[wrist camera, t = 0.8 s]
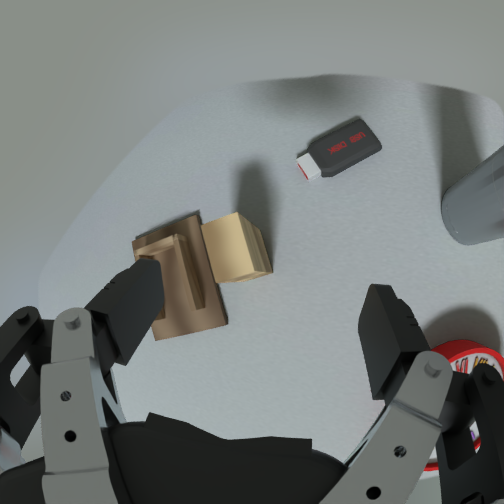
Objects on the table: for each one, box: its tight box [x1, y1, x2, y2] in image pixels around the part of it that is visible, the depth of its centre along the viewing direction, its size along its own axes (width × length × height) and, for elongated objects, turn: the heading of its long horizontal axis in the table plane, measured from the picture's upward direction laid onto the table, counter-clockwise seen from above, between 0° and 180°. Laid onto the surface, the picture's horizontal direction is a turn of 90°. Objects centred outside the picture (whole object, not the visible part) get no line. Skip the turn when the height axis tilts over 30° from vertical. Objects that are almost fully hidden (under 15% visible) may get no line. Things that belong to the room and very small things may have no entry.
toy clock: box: [424, 340, 504, 471], centre depth 26 cm, size 20×6×20 cm
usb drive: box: [296, 119, 382, 182], centre depth 35 cm, size 5×12×3 cm, turn 118°
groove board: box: [132, 215, 228, 341], centre depth 38 cm, size 12×16×4 cm
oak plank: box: [201, 212, 273, 283], centre depth 32 cm, size 4×6×11 cm, turn 17°
